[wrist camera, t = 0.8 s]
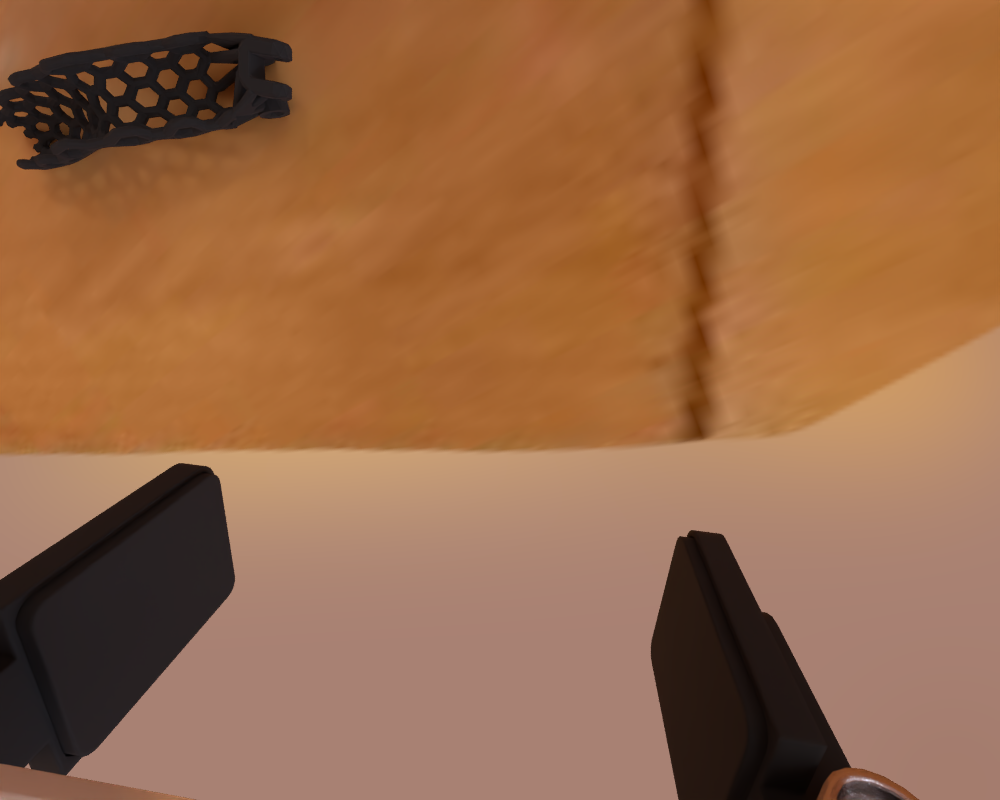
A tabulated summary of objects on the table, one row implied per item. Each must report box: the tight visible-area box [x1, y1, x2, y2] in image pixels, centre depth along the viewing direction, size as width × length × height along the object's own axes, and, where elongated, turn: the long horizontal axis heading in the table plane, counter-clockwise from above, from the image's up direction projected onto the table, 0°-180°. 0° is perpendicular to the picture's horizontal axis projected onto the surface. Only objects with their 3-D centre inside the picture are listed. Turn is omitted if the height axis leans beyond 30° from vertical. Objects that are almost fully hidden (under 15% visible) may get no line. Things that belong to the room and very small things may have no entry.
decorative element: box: [0, 31, 292, 170], centre depth 31 cm, size 22×5×6 cm, turn 101°
